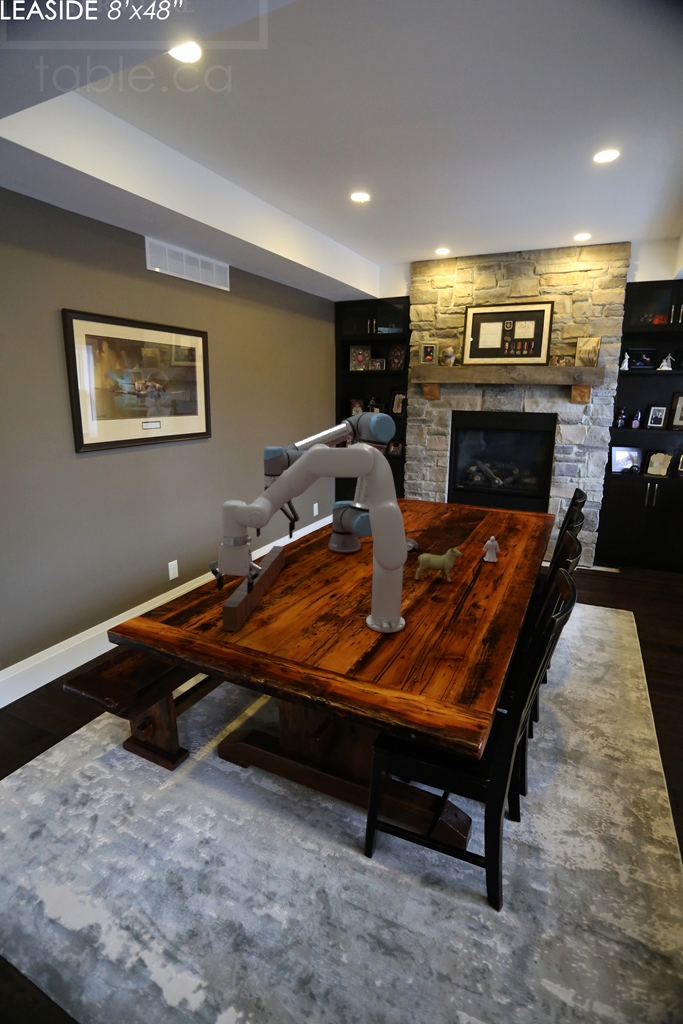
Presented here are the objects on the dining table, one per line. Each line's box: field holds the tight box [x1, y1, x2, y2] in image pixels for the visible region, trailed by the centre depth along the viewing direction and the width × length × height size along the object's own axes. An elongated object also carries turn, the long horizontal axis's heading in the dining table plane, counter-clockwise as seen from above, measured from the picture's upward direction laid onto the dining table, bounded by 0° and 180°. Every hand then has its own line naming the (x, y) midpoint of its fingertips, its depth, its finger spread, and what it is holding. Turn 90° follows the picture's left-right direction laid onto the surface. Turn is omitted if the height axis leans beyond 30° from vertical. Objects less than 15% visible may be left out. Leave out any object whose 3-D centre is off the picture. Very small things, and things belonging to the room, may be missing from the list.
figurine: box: [482, 535, 501, 563], centre depth 223 cm, size 8×8×12 cm
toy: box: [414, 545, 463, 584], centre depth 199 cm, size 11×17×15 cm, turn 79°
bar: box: [221, 545, 286, 633], centre depth 184 cm, size 61×5×8 cm, turn 172°
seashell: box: [406, 537, 419, 552], centre depth 237 cm, size 8×5×8 cm
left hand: (274, 536), depth 204 cm, fingers open, 13 cm apart
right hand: (235, 590), depth 161 cm, fingers open, 9 cm apart
